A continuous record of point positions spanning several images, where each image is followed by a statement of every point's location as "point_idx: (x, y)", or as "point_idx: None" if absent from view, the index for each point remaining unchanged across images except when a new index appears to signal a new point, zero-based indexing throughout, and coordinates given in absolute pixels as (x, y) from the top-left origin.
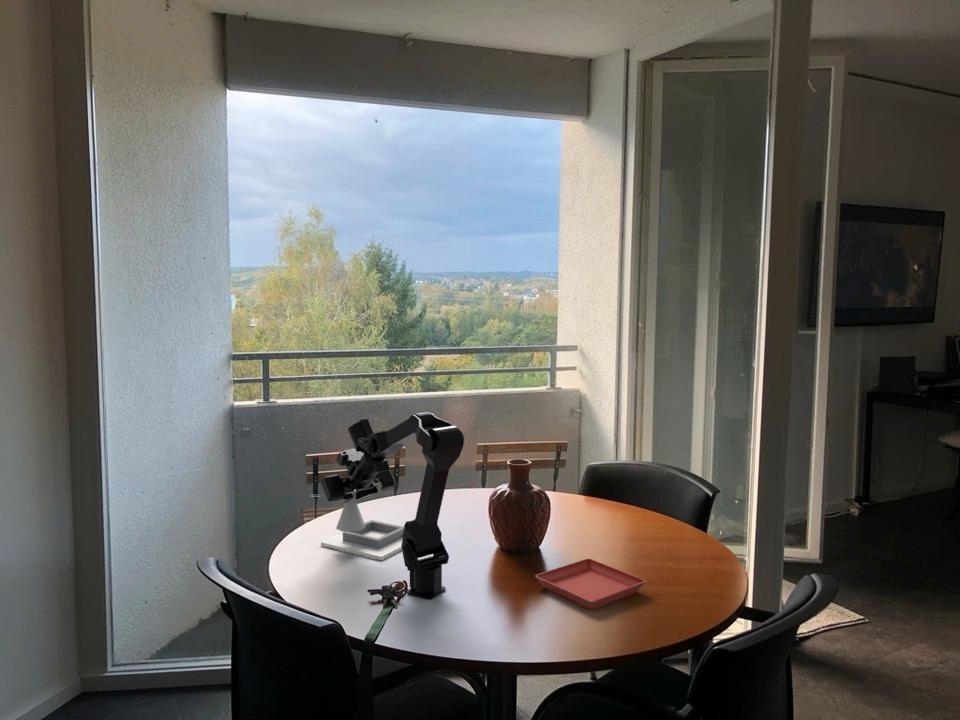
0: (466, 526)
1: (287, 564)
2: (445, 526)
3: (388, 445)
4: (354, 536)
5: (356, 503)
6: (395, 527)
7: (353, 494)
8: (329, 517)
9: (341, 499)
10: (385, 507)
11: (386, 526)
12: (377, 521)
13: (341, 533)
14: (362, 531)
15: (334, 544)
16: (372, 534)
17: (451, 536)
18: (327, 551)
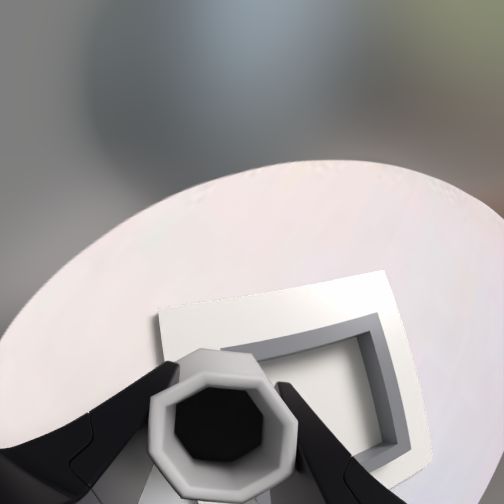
0: (498, 429)
1: (22, 341)
2: (482, 408)
3: None
4: None
5: (251, 453)
6: (393, 427)
7: (218, 484)
8: (322, 166)
9: (160, 367)
10: (441, 215)
11: (383, 392)
12: (384, 339)
13: (261, 294)
14: (314, 348)
15: (172, 361)
16: (331, 377)
17: (455, 476)
18: (141, 365)
